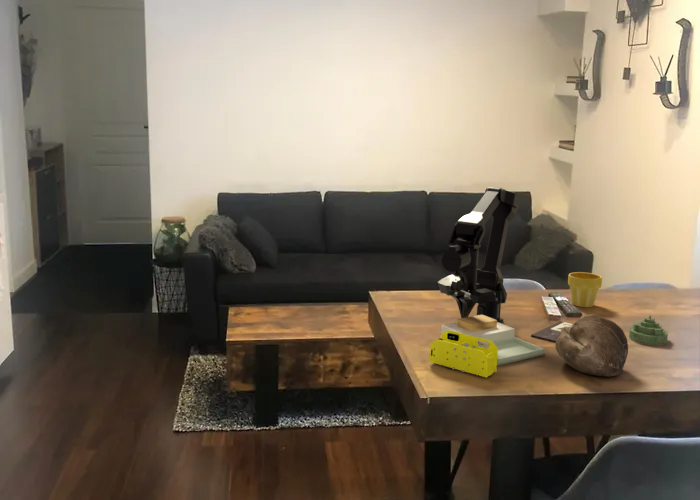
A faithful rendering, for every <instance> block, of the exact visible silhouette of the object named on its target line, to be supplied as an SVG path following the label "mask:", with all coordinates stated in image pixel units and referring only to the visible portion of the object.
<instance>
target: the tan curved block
mask: <svg viewBox="0 0 700 500" xmlns="http://www.w3.org/2000/svg"><path fill="white" fill-rule="evenodd" d="M456 323H457V326H458V327H461V328H463V329H465V330H468V331H470V332H475V331H480V330H485V329H490V328H495V327H497V320H495V319H493V318H490V317H487V316H485V315H477V314H476V315H472V316H468V317H466V318H461V317H460V318H457V321H456Z"/></svg>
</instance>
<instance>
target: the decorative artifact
mask: <svg viewBox="0 0 700 500" xmlns="http://www.w3.org/2000/svg"><path fill="white" fill-rule="evenodd" d="M648 316H649V317H647V318H646V317H645V318H644V320H642V321H638V322H633V324H632V325H633V326H630V327H629V333H628V338H629V340H631V341H633V342H635V343H638V344H643V345H646V346H647V345H649V346H650V345H651V346H662V345H666V344H667V343H668V334H669V333H668V331H667V330H665V329H664V328H663V327H662V325H661V324H660V322H657V321H655V318H652V316H651V315H648Z"/></svg>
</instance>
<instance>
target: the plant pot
mask: <svg viewBox="0 0 700 500" xmlns="http://www.w3.org/2000/svg"><path fill="white" fill-rule="evenodd" d="M567 275H568V278H567V284H568V286H569V289H570V290H569V291H570V297H571V304H572V305H573V306H575V307H579V308H592V307H594V305H595V303H596V302H595V301H596V299H597V296H598V293H599V289H601V287H602V282H603V276H602V275H599V274H596V273H592V272H583V271H577V272H576V271H575V272H570V273H569V274H567Z"/></svg>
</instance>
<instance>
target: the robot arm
mask: <svg viewBox="0 0 700 500" xmlns="http://www.w3.org/2000/svg"><path fill="white" fill-rule="evenodd" d="M521 198H522V197H521V196H520V195H519V194H518V192H516V191H508V190H506V189H505V188H502V187H493V186H489V187H486V189H485V190H484V195H483V196H482V197H481V198H480V199H479V201H478V202H477V204H476V205H475V207H474V208H472V211H471V212H470V213H467V214H465V215H463V216H462V217H460V218H459V219H458V220H457V222H456V223H454V226H453V229H452V232H451V235H450V237H449V241H448V242H447V243H448V245H449V247H448V248H449V249H448V250H447V251H446V252H444V253H443V255H442V257H441V264H442V266H443V268H444V269H445V270H446V271H447V272H449V273H451V274H450V275H447V276H445V277H442V278H441V277H440V278H439V280H438V281H437V284H436V285H437V286H436V288H437V289H438V290H439V292H440V294H445V295H446V296H448V297H449V296H451V297H452V298H453V299H454V300H455V301H456V304H457V306H458V310H459V314H460V319H461V318H466V317H470V314H471V312H472V310H473V308H474V307H475V305H477V306H476V316H477V315H485V316H487V317H490V318H493V319H495V320H497V322H499V323H501V322H504V318H501V310H502V309H501V307H502V304H505V303H507V302H506V301H507V296H508V293H507V291H506V288H505V286H504V277H503V274H502V272H501V265H502V259H503V255H504V251H505V246H506V245H505V244H506V240H507V235H508V230H509V225H510V222H511V221H512V220H513V219H514V218H515V217H516V216H517V214H518V210H519V208H520V206H521V201H522V200H521ZM491 216H492V224H491V228H490V232H489V239H488V242H487V243H488V244H487V249H486V253H485V254H486V255H485V259H484V264H483V266H482V267H481V269H480V268H479V266H478V265H479V252H480V250H479V249H480V248H481V247H482V245H481V243H482V240H483V238H484V236H485V233H486V227H485V225H486V223H487V221H488V220H489V219H490V217H491Z"/></svg>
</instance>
